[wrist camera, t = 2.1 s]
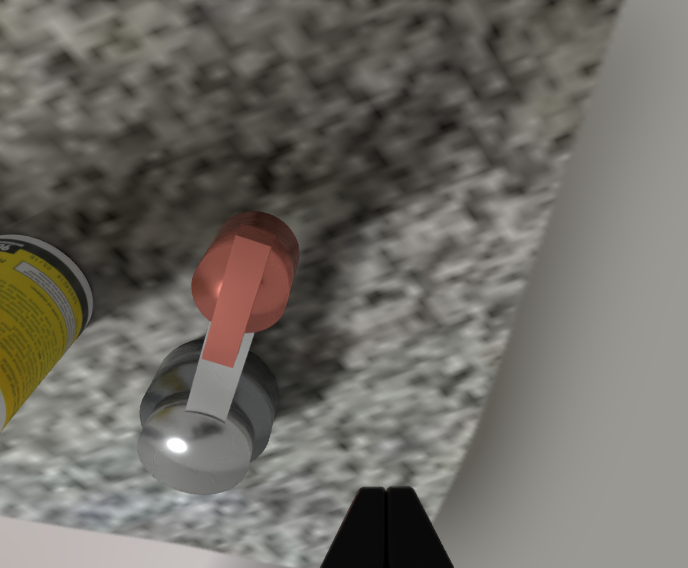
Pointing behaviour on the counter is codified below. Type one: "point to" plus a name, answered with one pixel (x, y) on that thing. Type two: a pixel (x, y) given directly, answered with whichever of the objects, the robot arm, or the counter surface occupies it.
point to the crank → (222, 357)
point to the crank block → (251, 394)
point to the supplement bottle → (36, 315)
